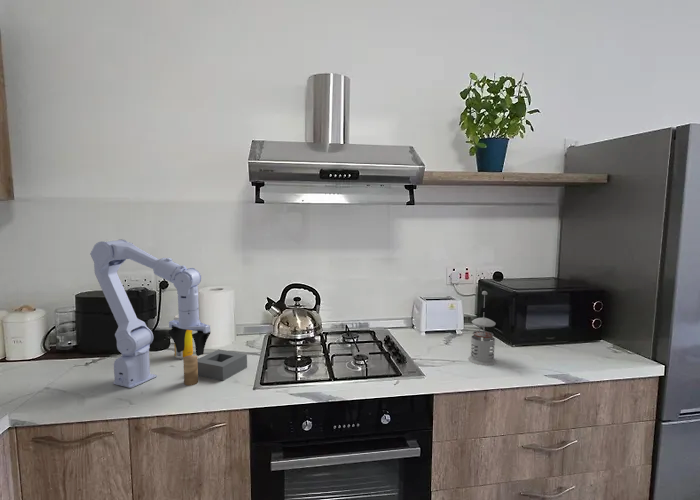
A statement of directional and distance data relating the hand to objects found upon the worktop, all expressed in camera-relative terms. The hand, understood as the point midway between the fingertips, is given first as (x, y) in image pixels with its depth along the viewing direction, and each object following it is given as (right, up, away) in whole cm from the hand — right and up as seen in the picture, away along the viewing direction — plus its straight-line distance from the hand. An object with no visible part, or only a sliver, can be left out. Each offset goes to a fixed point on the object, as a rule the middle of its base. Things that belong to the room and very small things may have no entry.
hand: (190, 352), depth 125 cm
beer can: (-11, -7, +23) cm, 27 cm away
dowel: (0, -9, +1) cm, 9 cm away
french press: (+96, -8, +22) cm, 99 cm away
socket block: (+6, -9, +10) cm, 15 cm away
